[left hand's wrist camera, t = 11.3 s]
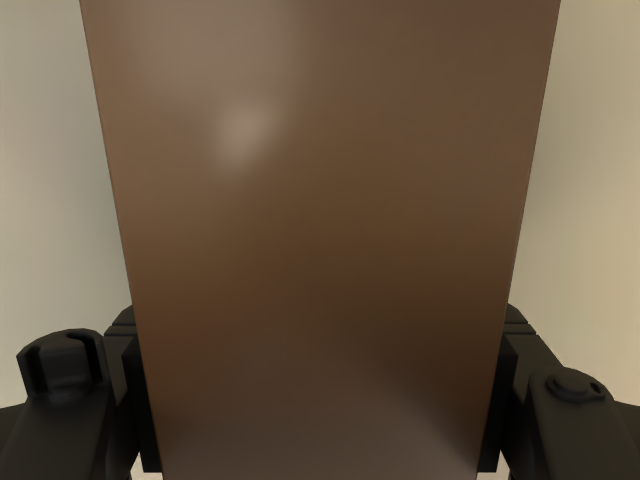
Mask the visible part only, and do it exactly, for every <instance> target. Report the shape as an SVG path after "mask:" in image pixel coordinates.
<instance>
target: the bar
mask: <svg viewBox="0 0 640 480" xmlns="http://www.w3.org/2000/svg"><path fill="white" fill-rule="evenodd" d="M79 2H80V8H81V13H82V19H83V25H84V31H85V36H86V42H87V48H88V53H89V59H90V65H91V71H92V76H93V82H94V88H95V93H96V99H97V105H98V111H99V116H100V122H101V128H102V133H103V139H104V145H105V151H106V156H107V162H108V168H109V173H110V179H111V185H112V191H113V196H114V202H115V208H116V213H117V219H118V225H119V231H120V236H121V242H122V248H123V253H124V259H125V265H126V271H127V276H128V282H129V288H130V293H131V299H132V305H133V311H134V316H135V322H136V328H137V333H138V339H139V345H140V351H141V356H142V362H143V368H144V373H145V379H146V385H147V391H148V396H149V402H150V408H151V413H152V419H153V425H154V431H155V436H156V442H157V448H158V453H159V459H160V465H161V471H162V476H163V480H476V479H477V473H478V468H479V462H480V456H481V451H482V445H483V439H484V434H485V428H486V422H487V417H488V411H489V405H490V399H491V394H492V388H493V382H494V377H495V371H496V365H497V360H498V354H499V348H500V343H501V337H502V331H503V326H504V320H505V314H506V309H507V303H508V297H509V292H510V286H511V280H512V275H513V269H514V263H515V258H516V252H517V246H518V240H519V235H520V229H521V223H522V218H523V212H524V206H525V201H526V195H527V189H528V184H529V178H530V172H531V167H532V161H533V155H534V150H535V144H536V138H537V133H538V127H539V121H540V116H541V110H542V104H543V99H544V93H545V87H546V81H547V76H548V70H549V64H550V59H551V53H552V47H553V42H554V36H555V30H556V25H557V19H558V13H559V8H560V2H561V0H79Z"/></svg>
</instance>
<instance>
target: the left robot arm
mask: <svg viewBox="0 0 640 480" xmlns="http://www.w3.org/2000/svg"><path fill="white" fill-rule="evenodd" d="M16 358H17V361H18V365H19V368H20V372H21V375H22V378H23V382H24V385H25V388H26V392H27V395H28V397H27V399H26V402H25V403H22V404H19V405H15V406H10V407H5V408H0V480H132V477H131V472H130V471H131V468H132V466H133V464H134V462H135V460H136V458H137V455H138V453H139V451H140V457H141V462H142V467H143V472H144V473H162V471H161V465H160V459H159V453H158V448H157V442H156V436H155V431H154V425H153V419H152V413H151V408H150V402H149V396H148V391H147V385H146V379H145V373H144V368H143V362H142V356H141V351H140V345H139V339H138V333H137V328H136V322H135V316H134V311H133V305H131V306H129V307H127V308H126V309H124V310H123V311H122V312H121V313H120V314H119V315H118V317H117V318H116V319H115V320H114V322H113V323H112V326H110V327H109V328H108V329H107V331H106V332H105V333H104V336H102V335H100V334H99V333H98V332H97V331H94V330H90V329H85V328H79V329H67V330H62V331H58V332H53V333H51V334H48V335H46V336H43V337H40V338H38V339H36V340H35V341H33V342H31V343H30V344H28V345H27V346H25V347H24V348H23V349H22V350H21V351H20V352H19V353H18V354H17V356H16ZM500 450H501V452H502V454H503V456H504V458H505V460H506V462H507V465H508V467H509V469H510V472H509V477H508V480H640V406H635V405H630V404H625V403H621V402H618V401H614V399H613V397H612V395H611V394H610V392H609V391H608V390H607V388H606V387H605V386H604V385H603V384H601V383H600V382H599V381H597V380H596V379H594V378H593V377H591V376H589V375H587V374H585V373H583V372H580V371H578V370H575V369H571V368H567V367H563V365H562V364H561V363H560V362H559V360H558V359H557V358H556V357H555V355H554V354H553V353H552V351H551V350H550V349H549V348H548V346H547V345H546V344H545V343H544V341H543V340H542V339H541V338H540V336H539V335H536V331H535V330H534V329H533V328H532V326H531V325H530V324H528V321H527V320H526V319H525V318H524V316H523V315H522V314H521V313H520V311H519V310H518V309H517V308H515V307H513V306H512V305H510V304H509V303H507V309H506V314H505V320H504V326H503V331H502V337H501V343H500V348H499V354H498V360H497V365H496V371H495V377H494V382H493V388H492V394H491V399H490V405H489V411H488V417H487V422H486V428H485V434H484V439H483V445H482V451H481V456H480V462H479V468H478V472H496V470H497V465H498V460H499V455H500Z"/></svg>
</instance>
